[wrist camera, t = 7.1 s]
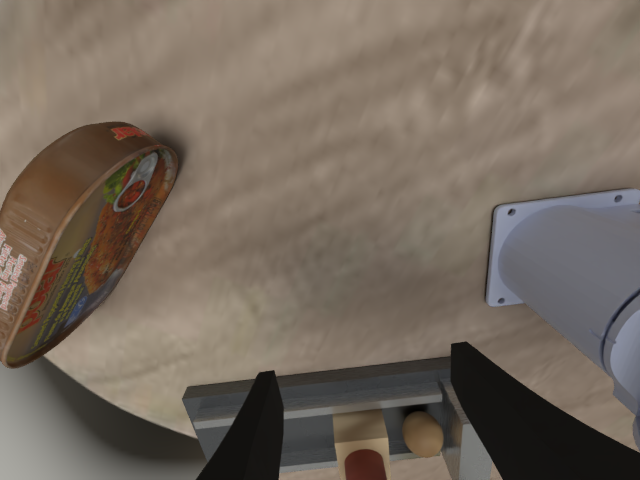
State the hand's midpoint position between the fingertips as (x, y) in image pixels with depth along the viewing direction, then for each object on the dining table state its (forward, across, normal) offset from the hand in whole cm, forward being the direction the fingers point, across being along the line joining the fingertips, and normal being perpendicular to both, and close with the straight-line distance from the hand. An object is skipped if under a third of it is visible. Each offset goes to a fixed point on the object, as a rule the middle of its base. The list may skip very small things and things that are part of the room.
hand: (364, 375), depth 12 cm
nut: (+8, -5, +15) cm, 18 cm away
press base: (+10, +2, +15) cm, 18 cm away
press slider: (+9, 0, +15) cm, 18 cm away
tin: (+11, +14, -5) cm, 19 cm away
